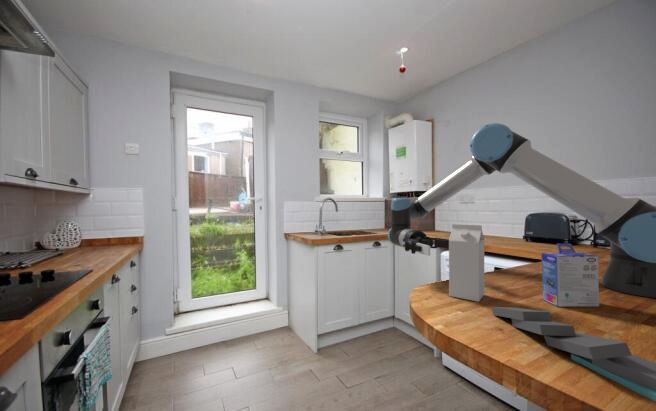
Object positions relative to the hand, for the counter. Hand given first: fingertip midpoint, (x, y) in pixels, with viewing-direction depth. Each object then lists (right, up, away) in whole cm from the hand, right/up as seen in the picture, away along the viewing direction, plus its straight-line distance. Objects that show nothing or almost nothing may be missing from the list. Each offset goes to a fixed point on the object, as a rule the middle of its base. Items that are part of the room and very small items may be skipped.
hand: (450, 249), depth 79 cm
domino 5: (+6, -10, -37) cm, 39 cm away
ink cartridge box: (+24, -11, -12) cm, 29 cm away
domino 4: (+6, -11, -35) cm, 37 cm away
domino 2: (+4, -11, -24) cm, 27 cm away
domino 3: (+5, -10, -31) cm, 33 cm away
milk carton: (+2, -11, -6) cm, 13 cm away
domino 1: (+3, -11, -19) cm, 22 cm away
